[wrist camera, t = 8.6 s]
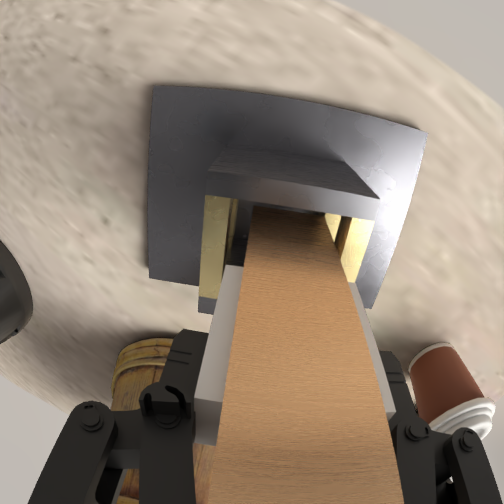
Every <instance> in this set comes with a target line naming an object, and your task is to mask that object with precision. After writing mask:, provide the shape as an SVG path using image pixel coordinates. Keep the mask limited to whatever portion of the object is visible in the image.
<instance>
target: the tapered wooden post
mask: <svg viewBox="0 0 504 504" xmlns="http://www.w3.org/2000/svg"><path fill="white" fill-rule="evenodd" d="M208 504H404V500H403V494H402V488H401V483H400V477H399V472H398V467H397V462H396V457H395V452H394V447H393V443H392V438H391V433H390V429H389V425H388V420H387V416H386V412H385V408H384V404H383V400H382V396H381V392H380V388H379V384H378V381H377V377H376V373H375V369H374V366H373V362H372V359H371V355H370V352H369V348H368V345H367V341H366V338H365V334H364V331H363V328H362V325H361V321H360V318H359V315H358V312H357V308H356V305H355V302H354V299H353V296H352V293H351V290H350V287H349V284H348V281H347V278H346V275H345V272H344V269H343V266H342V263H341V260H340V258H339V255H338V252H337V249H336V246H335V244H334V241H333V238H332V235H331V233H330V230H329V227H328V224H327V222H326V219H325V217H324V216H318V215H312V214H306V213H300V212H294V211H288V210H281V209H275V208H268V207H262V206H255V205H254V206H253V213H252V219H251V225H250V231H249V238H248V244H247V250H246V256H245V263H244V269H243V275H242V282H241V288H240V294H239V301H238V307H237V313H236V320H235V326H234V333H233V339H232V345H231V352H230V358H229V365H228V371H227V378H226V384H225V391H224V397H223V404H222V411H221V417H220V424H219V430H218V437H217V444H216V450H215V457H214V464H213V470H212V477H211V484H210V491H209V497H208Z"/></svg>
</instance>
